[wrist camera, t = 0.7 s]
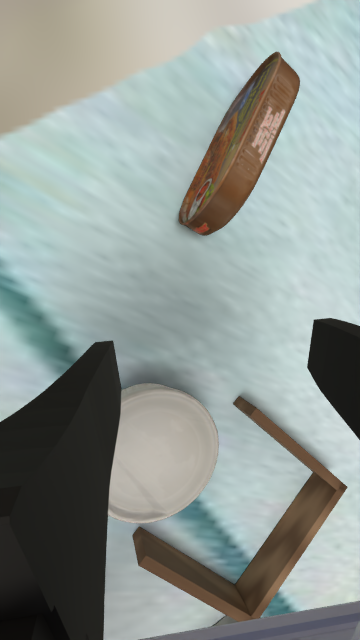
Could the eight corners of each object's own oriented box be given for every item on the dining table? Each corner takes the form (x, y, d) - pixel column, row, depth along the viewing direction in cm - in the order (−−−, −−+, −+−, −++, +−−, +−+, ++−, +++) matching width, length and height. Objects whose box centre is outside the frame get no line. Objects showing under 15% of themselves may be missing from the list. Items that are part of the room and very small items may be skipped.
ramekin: (62, 473, 28) (57, 513, 23) (108, 357, 28) (113, 371, 23) (173, 496, 31) (190, 534, 26) (213, 392, 32) (237, 410, 27)
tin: (235, 92, 30) (291, 17, 22) (260, 113, 31) (323, 48, 23) (167, 231, 29) (199, 206, 21) (195, 247, 30) (237, 230, 22)
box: (235, 596, 34) (251, 629, 31) (132, 535, 30) (138, 565, 27) (323, 469, 36) (347, 487, 33) (238, 396, 32) (256, 407, 29)
